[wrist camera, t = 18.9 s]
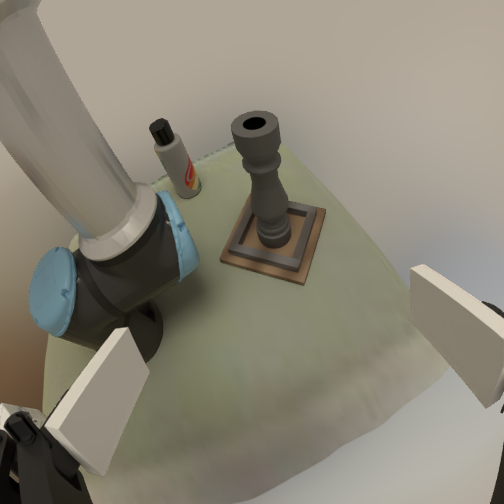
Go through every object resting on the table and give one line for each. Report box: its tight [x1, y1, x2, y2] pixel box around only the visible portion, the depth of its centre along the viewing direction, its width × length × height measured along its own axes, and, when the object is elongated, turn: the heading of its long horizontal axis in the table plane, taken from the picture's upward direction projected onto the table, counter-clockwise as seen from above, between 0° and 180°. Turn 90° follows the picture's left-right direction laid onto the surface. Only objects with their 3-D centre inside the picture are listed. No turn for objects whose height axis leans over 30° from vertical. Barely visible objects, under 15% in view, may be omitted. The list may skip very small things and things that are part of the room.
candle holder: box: [231, 111, 292, 249], centre depth 41 cm, size 6×6×25 cm
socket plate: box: [220, 193, 326, 285], centre depth 52 cm, size 16×16×3 cm
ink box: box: [0, 403, 46, 439], centre depth 34 cm, size 9×5×12 cm, turn 164°
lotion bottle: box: [149, 118, 201, 198], centre depth 54 cm, size 6×6×20 cm
